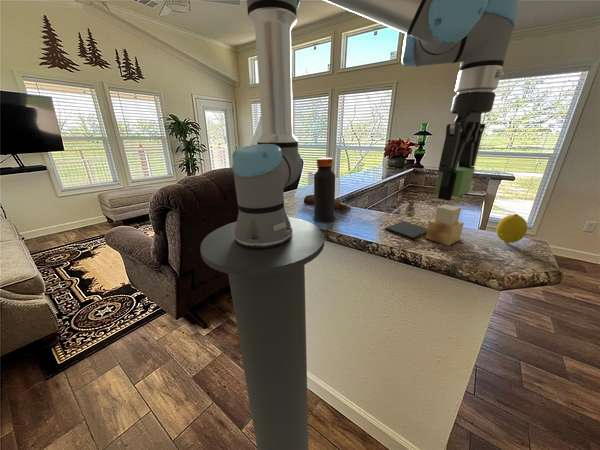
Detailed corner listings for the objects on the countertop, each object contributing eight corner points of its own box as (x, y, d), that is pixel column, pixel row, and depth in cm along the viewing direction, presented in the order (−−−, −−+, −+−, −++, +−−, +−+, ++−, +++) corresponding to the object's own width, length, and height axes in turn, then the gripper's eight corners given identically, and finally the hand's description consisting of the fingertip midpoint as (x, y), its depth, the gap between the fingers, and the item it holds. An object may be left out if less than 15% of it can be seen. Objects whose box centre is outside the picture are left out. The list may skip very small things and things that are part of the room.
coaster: (385, 229, 71) (385, 227, 70) (403, 222, 75) (403, 220, 75) (412, 239, 64) (413, 237, 64) (430, 231, 68) (431, 229, 68)
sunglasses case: (352, 206, 90) (348, 194, 86) (343, 219, 88) (338, 207, 83) (316, 199, 102) (311, 187, 97) (307, 210, 99) (301, 199, 95)
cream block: (434, 221, 62) (437, 206, 61) (442, 218, 64) (445, 204, 63) (450, 225, 59) (453, 210, 58) (457, 222, 61) (461, 207, 60)
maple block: (425, 238, 64) (428, 221, 63) (436, 232, 67) (440, 216, 66) (448, 246, 60) (452, 227, 58) (459, 239, 63) (463, 222, 61)
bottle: (312, 216, 83) (311, 158, 76) (330, 214, 84) (331, 157, 77) (317, 223, 77) (317, 160, 70) (336, 221, 78) (338, 159, 71)
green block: (434, 192, 60) (439, 168, 57) (445, 189, 62) (450, 166, 60) (458, 196, 55) (464, 170, 53) (468, 193, 58) (474, 168, 56)
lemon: (493, 237, 64) (502, 209, 61) (520, 242, 60) (531, 213, 57) (492, 244, 60) (501, 214, 57) (521, 250, 57) (532, 219, 54)
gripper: (475, 86, 43) (447, 207, 52) (511, 93, 53) (483, 194, 61) (434, 92, 49) (415, 200, 57) (473, 97, 58) (452, 189, 67)
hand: (450, 197), depth 59 cm, fingers closed on green block, 5 cm apart
